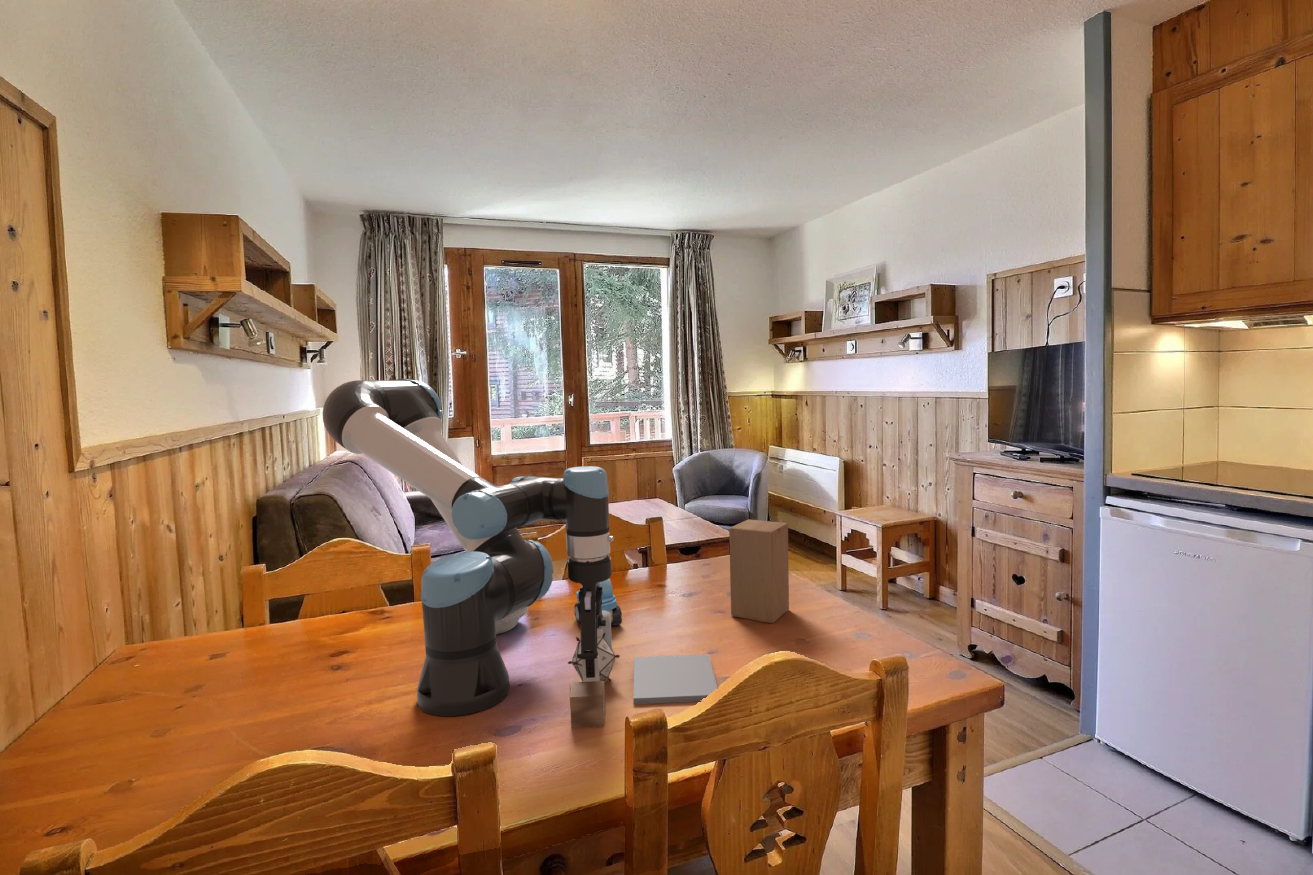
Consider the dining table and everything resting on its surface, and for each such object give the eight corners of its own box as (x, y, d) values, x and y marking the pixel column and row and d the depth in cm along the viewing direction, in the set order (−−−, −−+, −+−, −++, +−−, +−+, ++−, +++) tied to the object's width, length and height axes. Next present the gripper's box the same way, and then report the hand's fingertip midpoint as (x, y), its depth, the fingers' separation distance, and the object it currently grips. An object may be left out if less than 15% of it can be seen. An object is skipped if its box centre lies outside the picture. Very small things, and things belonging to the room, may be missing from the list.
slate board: (633, 704, 107) (633, 698, 107) (634, 662, 123) (634, 657, 123) (719, 700, 107) (719, 694, 107) (708, 659, 123) (708, 653, 123)
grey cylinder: (585, 654, 127) (584, 619, 127) (587, 644, 132) (586, 610, 132) (611, 653, 127) (609, 618, 127) (612, 643, 132) (611, 609, 132)
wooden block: (789, 609, 148) (788, 522, 146) (772, 624, 140) (771, 532, 138) (749, 602, 153) (747, 518, 152) (730, 616, 145) (728, 527, 143)
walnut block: (571, 728, 100) (569, 697, 100) (574, 712, 105) (572, 682, 105) (604, 726, 100) (602, 695, 100) (605, 710, 105) (604, 680, 105)
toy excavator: (603, 604, 156) (600, 533, 154) (624, 628, 140) (621, 549, 139) (567, 609, 153) (564, 537, 151) (585, 634, 137) (581, 554, 136)
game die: (602, 705, 115) (609, 675, 108) (558, 685, 116) (562, 655, 110) (621, 663, 121) (629, 632, 115) (579, 644, 123) (585, 614, 116)
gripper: (607, 575, 102) (612, 709, 104) (613, 538, 126) (617, 648, 128) (559, 577, 102) (565, 711, 104) (574, 540, 126) (579, 650, 127)
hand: (594, 677), depth 116 cm, fingers open, 11 cm apart
